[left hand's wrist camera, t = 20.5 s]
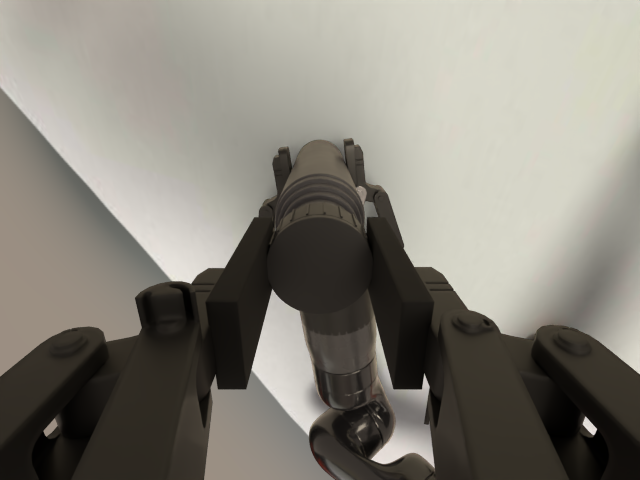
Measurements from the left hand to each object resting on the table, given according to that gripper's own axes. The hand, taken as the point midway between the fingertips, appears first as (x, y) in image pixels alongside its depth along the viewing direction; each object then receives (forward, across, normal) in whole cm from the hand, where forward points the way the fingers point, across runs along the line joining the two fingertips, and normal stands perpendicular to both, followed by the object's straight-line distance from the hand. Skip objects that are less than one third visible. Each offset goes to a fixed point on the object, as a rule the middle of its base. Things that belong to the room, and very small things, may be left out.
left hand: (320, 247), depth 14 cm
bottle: (+22, 0, 0) cm, 22 cm away
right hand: (+16, 0, -3) cm, 16 cm away
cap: (-2, 0, 0) cm, 2 cm away
